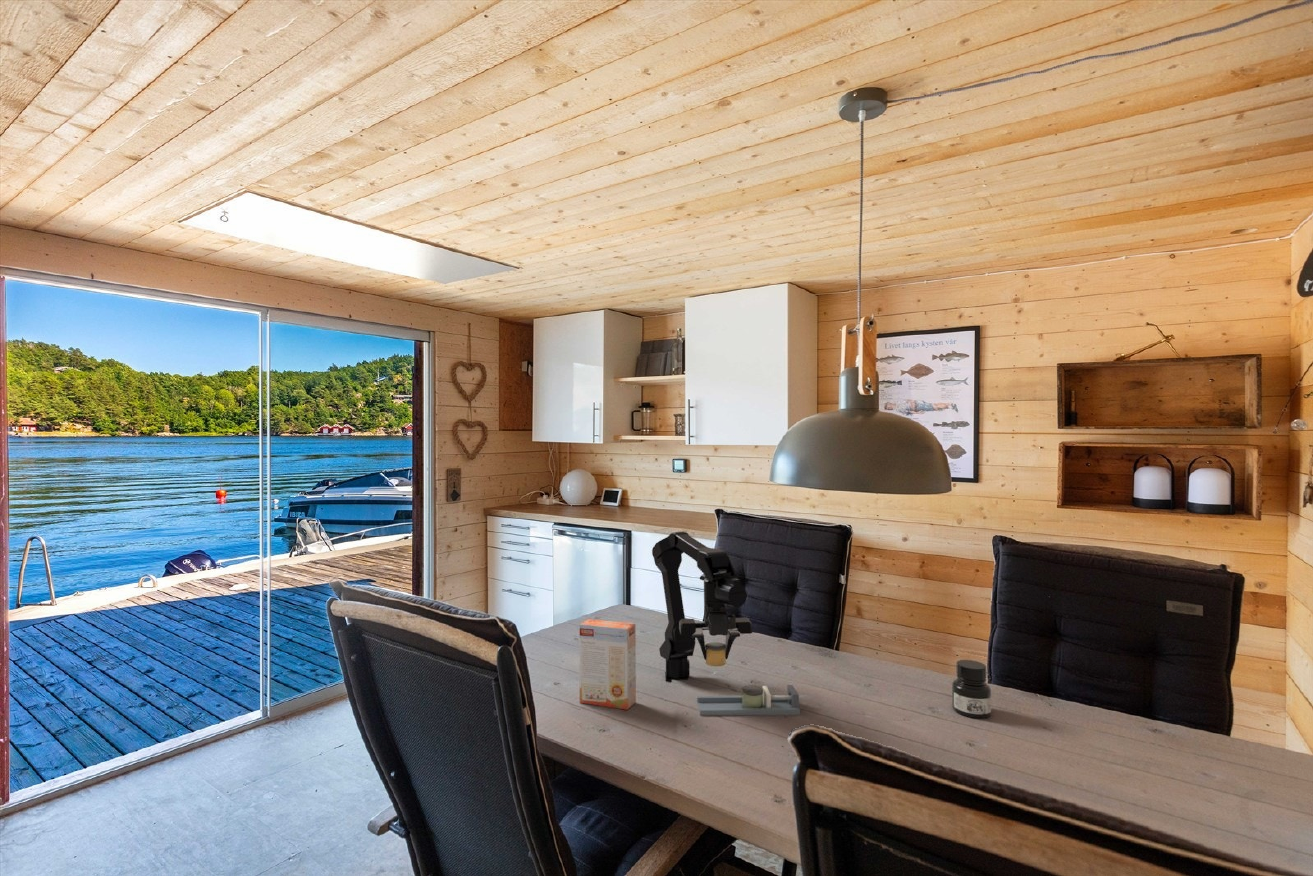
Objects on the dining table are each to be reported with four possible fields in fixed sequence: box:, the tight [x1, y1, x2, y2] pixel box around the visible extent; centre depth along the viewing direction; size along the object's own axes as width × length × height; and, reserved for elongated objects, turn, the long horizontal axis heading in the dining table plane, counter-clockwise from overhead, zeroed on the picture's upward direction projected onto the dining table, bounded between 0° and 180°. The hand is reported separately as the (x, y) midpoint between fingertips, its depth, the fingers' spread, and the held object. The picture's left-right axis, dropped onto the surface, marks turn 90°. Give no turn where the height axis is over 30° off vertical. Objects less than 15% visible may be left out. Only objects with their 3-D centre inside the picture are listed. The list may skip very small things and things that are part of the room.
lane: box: [696, 684, 801, 716], centre depth 159 cm, size 25×9×5 cm, turn 91°
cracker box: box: [578, 618, 637, 711], centre depth 163 cm, size 14×6×21 cm, turn 69°
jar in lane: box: [741, 684, 763, 708], centre depth 159 cm, size 5×5×5 cm
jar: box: [705, 641, 727, 667], centre depth 163 cm, size 5×5×5 cm
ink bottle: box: [951, 659, 992, 719], centre depth 158 cm, size 10×9×12 cm
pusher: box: [761, 685, 813, 708], centre depth 159 cm, size 12×6×4 cm, turn 91°
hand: (715, 659), depth 163 cm, fingers closed on jar, 5 cm apart
